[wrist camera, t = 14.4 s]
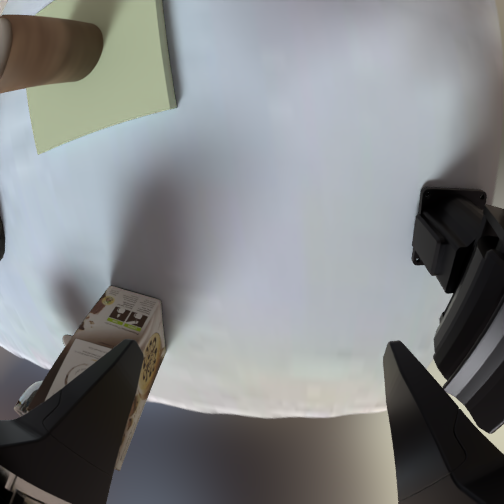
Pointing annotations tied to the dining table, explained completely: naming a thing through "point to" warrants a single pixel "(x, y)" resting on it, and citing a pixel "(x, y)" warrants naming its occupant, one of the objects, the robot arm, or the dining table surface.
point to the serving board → (107, 72)
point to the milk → (2, 5)
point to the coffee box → (106, 338)
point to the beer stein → (2, 240)
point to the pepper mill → (46, 51)
